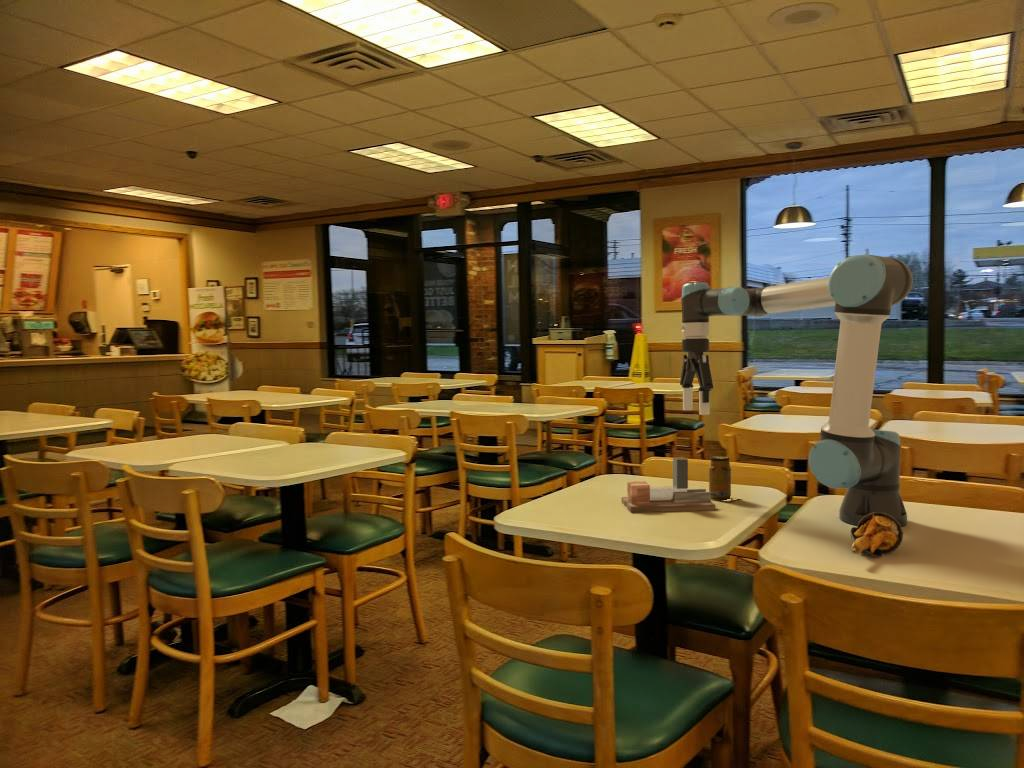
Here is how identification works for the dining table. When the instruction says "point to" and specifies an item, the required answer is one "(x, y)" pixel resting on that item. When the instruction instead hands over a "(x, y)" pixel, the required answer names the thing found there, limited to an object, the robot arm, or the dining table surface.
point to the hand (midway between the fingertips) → (695, 412)
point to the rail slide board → (641, 499)
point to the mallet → (678, 481)
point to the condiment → (720, 478)
